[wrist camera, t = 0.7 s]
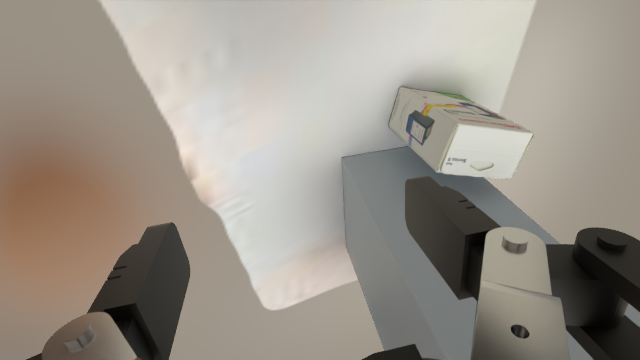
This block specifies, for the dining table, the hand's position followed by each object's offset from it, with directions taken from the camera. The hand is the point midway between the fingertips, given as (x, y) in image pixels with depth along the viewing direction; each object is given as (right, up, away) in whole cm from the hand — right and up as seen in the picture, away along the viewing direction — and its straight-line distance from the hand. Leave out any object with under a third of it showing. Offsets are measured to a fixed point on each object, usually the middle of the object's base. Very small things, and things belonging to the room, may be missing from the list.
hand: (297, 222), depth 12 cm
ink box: (+13, +10, +28) cm, 32 cm away
